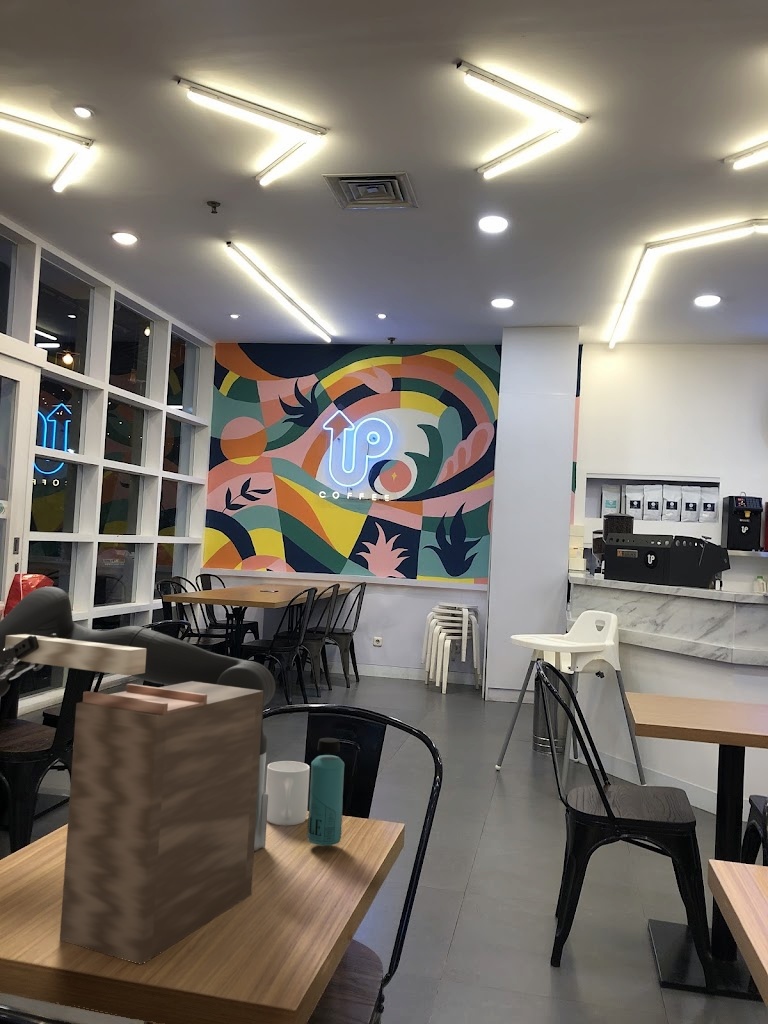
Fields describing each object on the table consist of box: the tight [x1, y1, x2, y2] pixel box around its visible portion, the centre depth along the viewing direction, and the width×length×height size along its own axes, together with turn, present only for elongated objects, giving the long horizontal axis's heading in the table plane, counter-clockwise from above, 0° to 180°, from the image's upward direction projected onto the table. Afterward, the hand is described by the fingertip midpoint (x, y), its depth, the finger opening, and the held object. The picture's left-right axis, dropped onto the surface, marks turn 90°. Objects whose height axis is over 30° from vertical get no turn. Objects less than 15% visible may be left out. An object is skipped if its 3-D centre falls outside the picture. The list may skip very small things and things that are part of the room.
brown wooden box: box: [59, 681, 264, 964], centre depth 124 cm, size 14×26×33 cm, turn 156°
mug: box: [265, 760, 311, 827], centre depth 168 cm, size 9×12×11 cm
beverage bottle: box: [306, 737, 345, 846], centre depth 155 cm, size 6×7×20 cm
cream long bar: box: [5, 634, 146, 677], centre depth 124 cm, size 24×4×4 cm, turn 66°
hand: (46, 640), depth 126 cm, fingers closed on cream long bar, 3 cm apart
